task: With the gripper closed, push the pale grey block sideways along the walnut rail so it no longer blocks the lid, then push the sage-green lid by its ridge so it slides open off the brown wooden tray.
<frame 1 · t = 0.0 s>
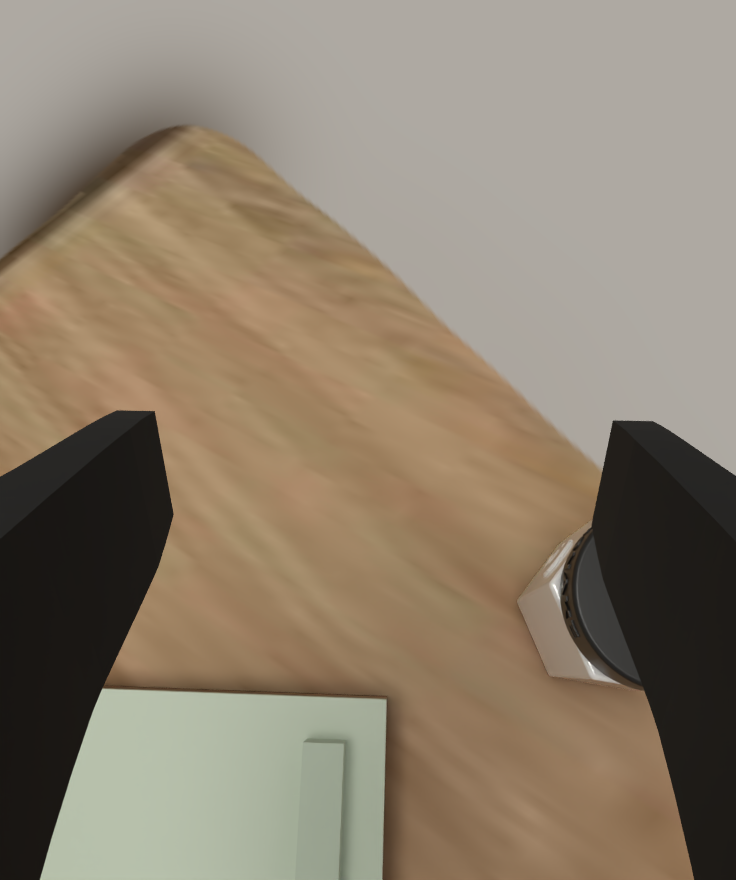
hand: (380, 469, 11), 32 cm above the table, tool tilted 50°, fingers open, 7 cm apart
brown wooden tray: (222, 804, 39), on the table
lid: (200, 822, 35), point 5 cm above the table, slide at 0.0 cm
jar: (591, 614, 42), on the table
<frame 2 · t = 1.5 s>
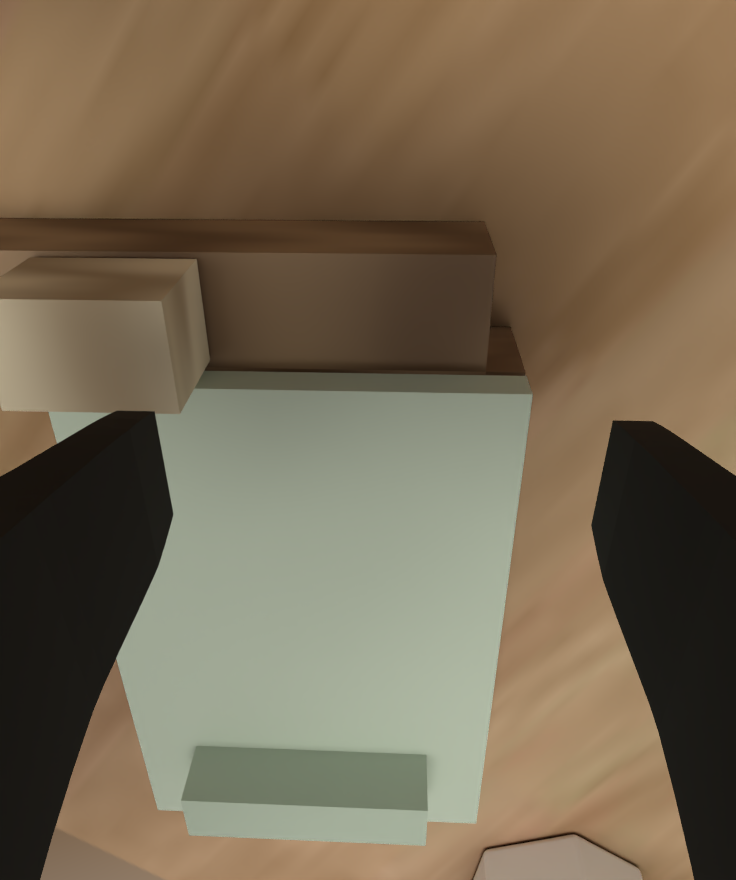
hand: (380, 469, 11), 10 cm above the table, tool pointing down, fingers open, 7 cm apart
brown wooden tray: (317, 559, 25), on the table
pale grey block: (102, 332, 16), point 5 cm above the table, slide at 0.0 cm
lid: (300, 662, 21), point 5 cm above the table, slide at 0.0 cm
jar: (549, 876, 36), on the table
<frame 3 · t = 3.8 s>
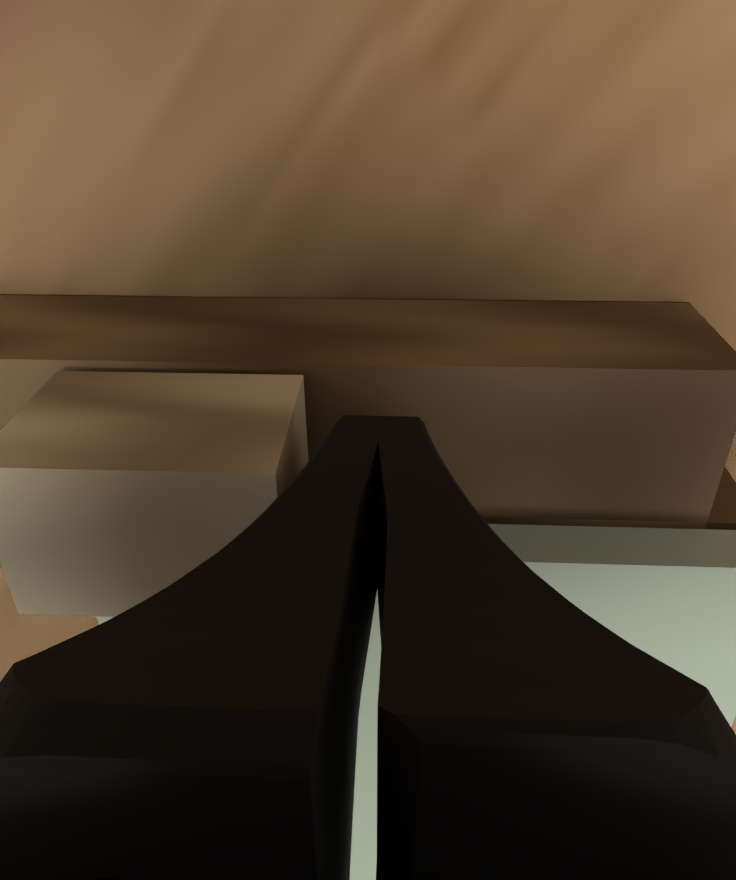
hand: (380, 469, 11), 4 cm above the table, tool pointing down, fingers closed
brown wooden tray: (412, 702, 20), on the table
pale grey block: (166, 489, 11), point 5 cm above the table, slide at 0.1 cm, touching gripper
lid: (413, 875, 16), point 5 cm above the table, slide at 0.0 cm
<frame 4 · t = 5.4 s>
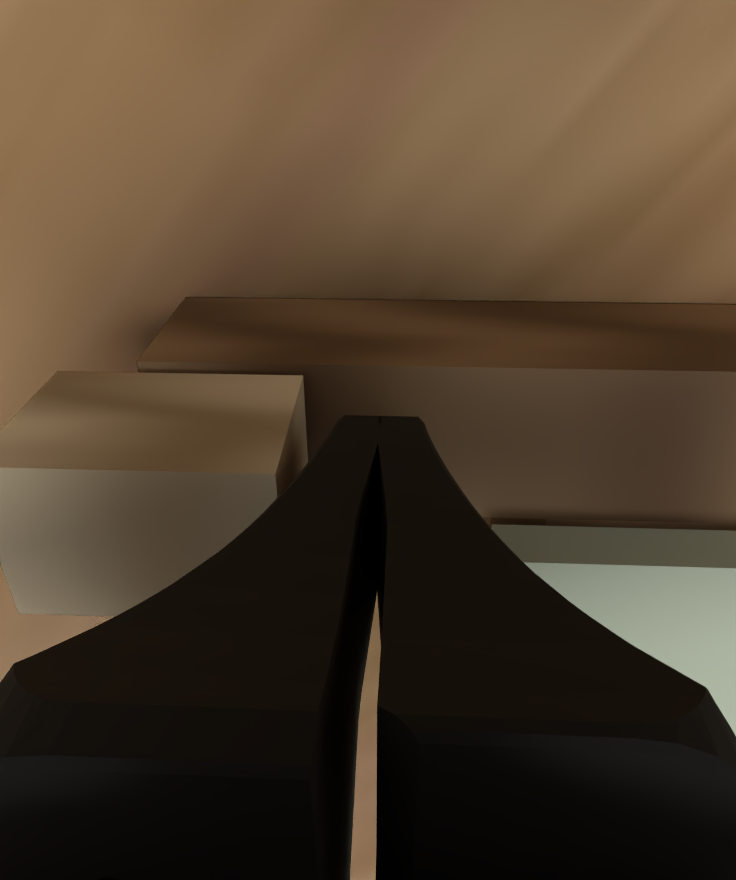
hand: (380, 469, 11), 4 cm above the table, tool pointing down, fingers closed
brown wooden tray: (666, 712, 20), on the table
pale grey block: (166, 489, 11), point 5 cm above the table, slide at 7.3 cm, touching gripper
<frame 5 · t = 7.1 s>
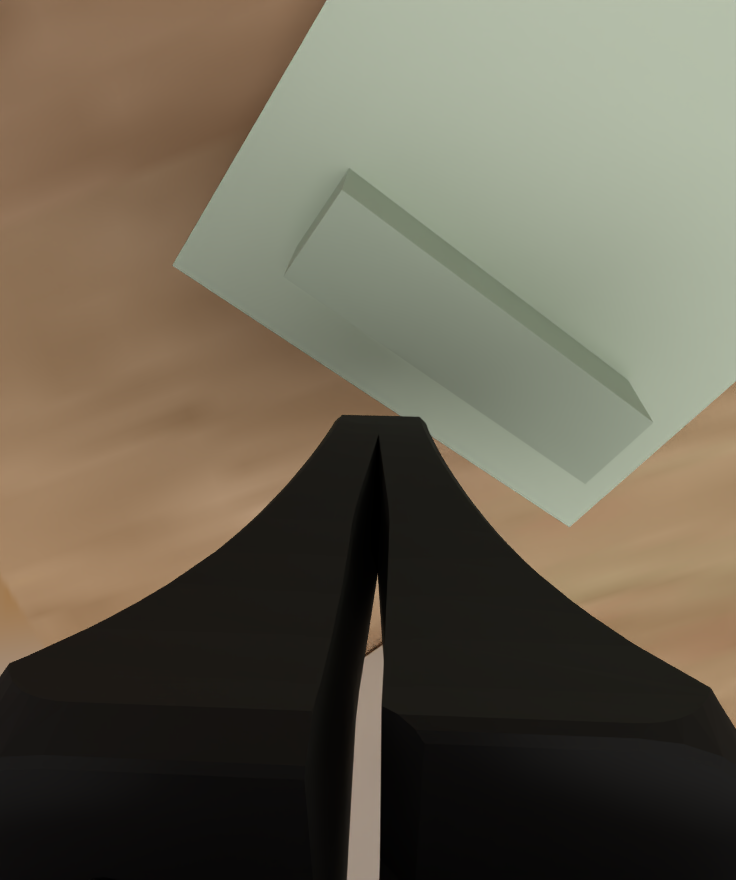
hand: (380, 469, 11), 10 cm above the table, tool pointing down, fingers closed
lid: (684, 76, 13), point 5 cm above the table, slide at 0.0 cm
jar: (431, 697, 29), on the table
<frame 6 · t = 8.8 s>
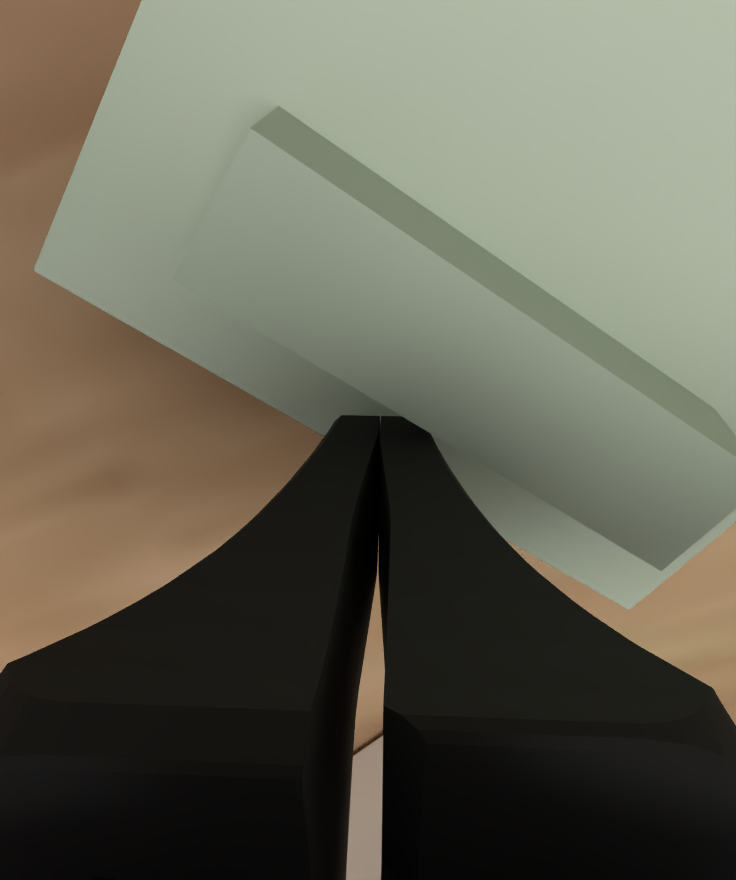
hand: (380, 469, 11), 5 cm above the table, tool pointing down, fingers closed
jar: (442, 792, 24), on the table
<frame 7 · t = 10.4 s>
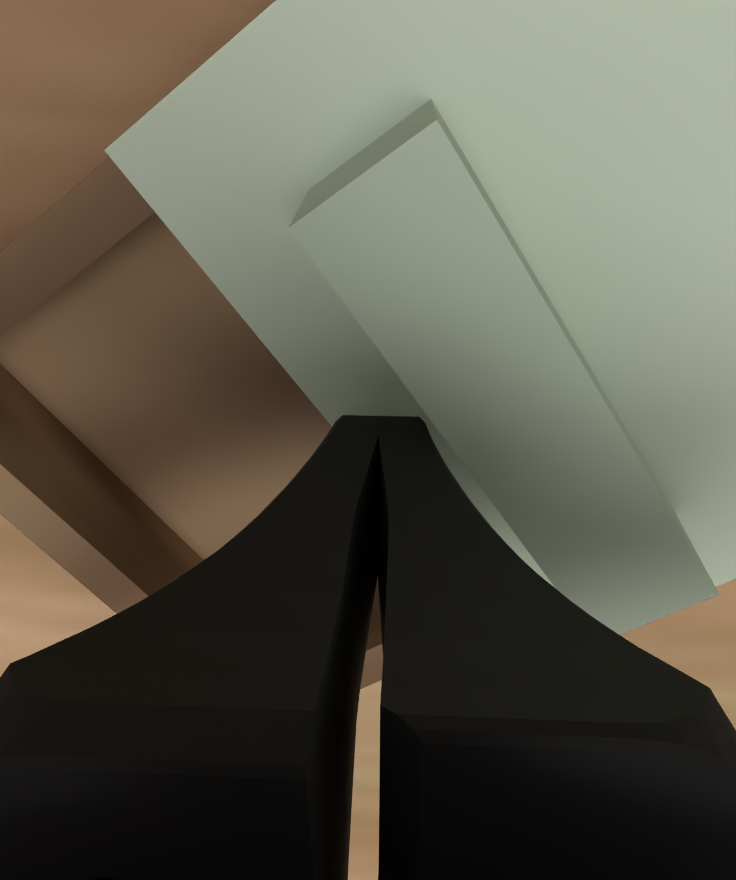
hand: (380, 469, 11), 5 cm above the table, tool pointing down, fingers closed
brown wooden tray: (425, 320, 15), on the table
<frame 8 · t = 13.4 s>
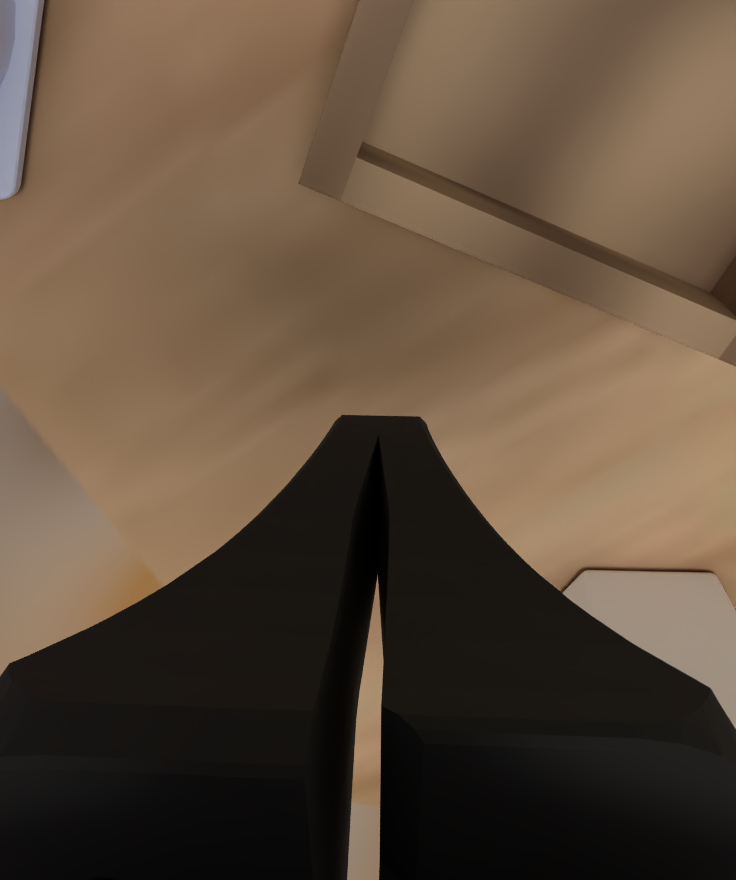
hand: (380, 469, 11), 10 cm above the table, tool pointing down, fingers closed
jar: (626, 641, 27), on the table
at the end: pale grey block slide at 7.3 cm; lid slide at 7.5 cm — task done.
